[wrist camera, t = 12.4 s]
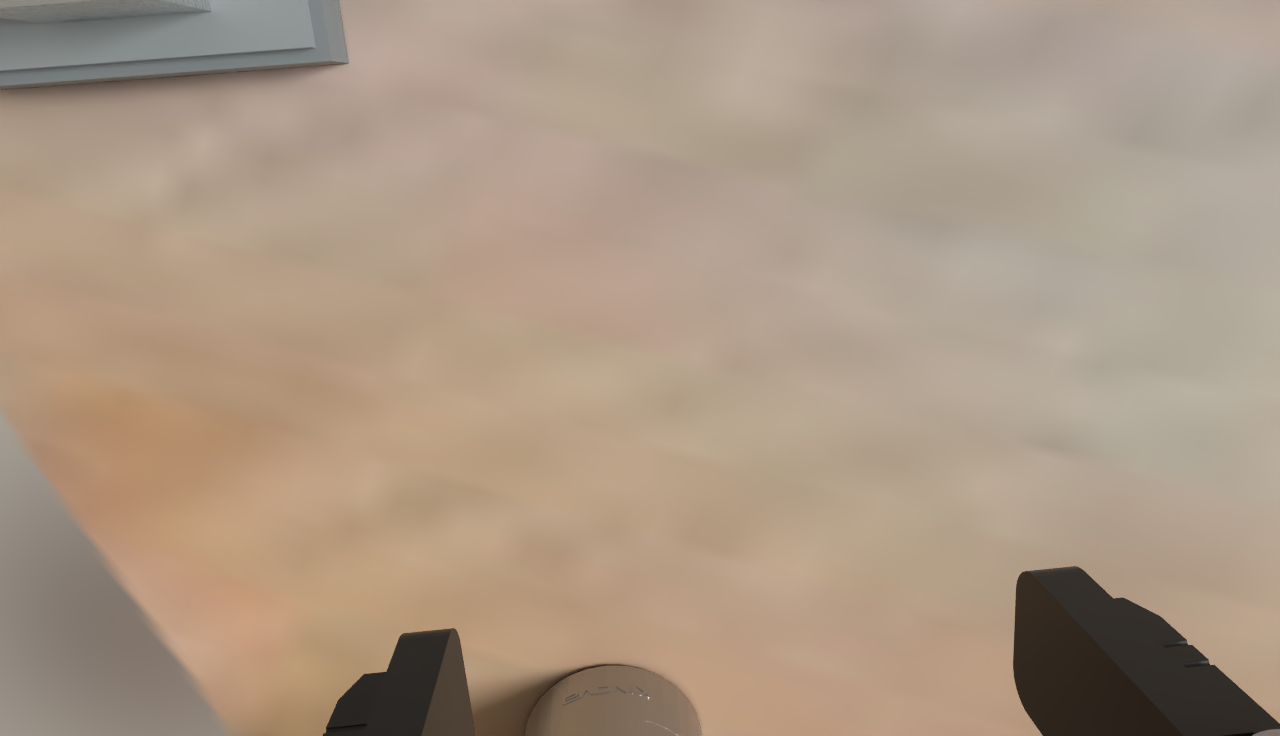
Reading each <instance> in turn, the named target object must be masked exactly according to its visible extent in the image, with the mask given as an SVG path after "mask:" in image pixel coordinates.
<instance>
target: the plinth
mask: <svg viewBox="0 0 1280 736" xmlns="http://www.w3.org/2000/svg"><path fill="white" fill-rule="evenodd" d="M210 4H211V9H212V11H209V12H196V13H184V14H171V15H158V16H145V17H132V18H119V19H106V20H93V21H80V22H67V23H55V24H43V23H36V22H28V21H20V20H13V19H5V18H0V89H14V88H28V87H41V86H54V85H67V84H81V83H94V82H107V81H120V80H133V79H147V78H160V77H173V76H186V75H200V74H213V73H226V72H239V71H252V70H266V69H279V68H292V67H305V66H319V65H332V64H345V63H349V62H348V55H347V49H346V43H345V37H344V31H343V24H342V18H341V12H340V6H339V0H210Z"/></svg>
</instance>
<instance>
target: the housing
mask: <svg viewBox="0 0 1280 736" xmlns="http://www.w3.org/2000/svg"><path fill="white" fill-rule="evenodd" d="M209 11H212V9H211V4H210V0H0V18H5V19H13V20H20V21H28V22H36V23H43V24H55V23H67V22H80V21H93V20H106V19H119V18H132V17H145V16H158V15H171V14H184V13H196V12H209Z"/></svg>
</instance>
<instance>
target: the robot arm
mask: <svg viewBox="0 0 1280 736" xmlns="http://www.w3.org/2000/svg"><path fill="white" fill-rule="evenodd" d="M1013 670H1014V678H1015V684H1016V688H1017V691H1018V695H1019V697H1020V700H1021V702H1022V705H1023V707H1024V709H1025V711H1026V712H1027V714H1028V715H1029V717H1030V718H1031V719H1032V721H1033V722H1034V724H1035V725H1036V726H1037V728H1038V729H1039V731H1040V732H1041V733H1042V735H1043V736H1280V724H1279V723H1278V722H1277V721H1276V720H1275V719H1274V718H1273V717H1271V716H1270V715H1269V714H1268V713H1267V712H1266V711H1265V710H1264V709H1263V708H1261V707H1260V706H1259V705H1258V704H1257V703H1256V702H1255V701H1254V700H1253V699H1251V698H1250V697H1249V696H1248V695H1247V694H1246V693H1245V692H1244V691H1243V690H1241V689H1240V688H1239V687H1238V686H1237V685H1236V684H1235V683H1234V682H1233V681H1231V680H1230V679H1229V678H1228V677H1227V676H1226V675H1225V674H1224V673H1223V672H1222V671H1220V670H1219V669H1218V668H1217V667H1216V666H1215V665H1210V664H1209V660H1208V659H1207V658H1206V657H1205V656H1204V655H1203V654H1202V653H1200V652H1199V651H1198V650H1197V649H1196V648H1195V647H1194V646H1193V645H1188V644H1187V640H1186V639H1185V638H1184V637H1183V636H1182V635H1180V634H1179V633H1178V632H1177V631H1176V630H1175V629H1174V628H1173V627H1172V626H1170V625H1169V624H1168V623H1167V622H1166V621H1165V620H1164V619H1163V618H1162V617H1160V616H1158V615H1156V614H1155V613H1153V612H1151V611H1149V610H1147V609H1145V608H1143V607H1141V606H1139V605H1137V604H1135V603H1133V602H1131V601H1129V600H1127V599H1125V598H1114V599H1113V598H1112V597H1111V596H1110V595H1109V594H1108V593H1107V592H1106V591H1105V590H1104V589H1103V588H1102V587H1100V586H1099V585H1098V584H1097V583H1096V582H1095V581H1094V580H1093V579H1092V578H1091V577H1090V576H1089V575H1088V574H1087V573H1086V572H1085V571H1083V570H1082V569H1081V568H1079V567H1075V566H1073V567H1063V568H1054V569H1044V570H1034V571H1025V572H1022V573H1021V574H1020V576H1019V578H1018V580H1017V586H1016V606H1015V632H1014V659H1013ZM323 736H475V733H474V722H473V715H472V709H471V703H470V697H469V691H468V685H467V679H466V673H465V667H464V661H463V655H462V649H461V644H460V639H459V635H458V633H457V631H456V629H454V628H452V629H443V630H433V631H423V632H413V633H403V634H402V635H401V636H400V638H399V640H398V643H397V645H396V648H395V651H394V653H393V656H392V659H391V661H390V664H389V667H388V669H387V672H381V673H371V674H364V675H363V676H362V677H361V678H360V679H359V680H358V681H357V682H356V683H355V684H354V685H353V686H352V687H351V688H350V689H349V690H348V691H347V692H346V693H345V694H344V695H343V696H342V697H341V698H340V699H339V700H338V702H337V704H336V707H335V709H334V711H333V714H332V716H331V718H330V720H329V723H328V725H327V727H326V733H324V734H323ZM525 736H702V733H701V727H700V723H699V720H698V717H697V714H696V711H695V709H694V708H693V706H692V704H691V703H690V701H689V699H688V698H687V697H686V696H685V695H684V694H683V693H682V692H681V691H680V690H679V689H678V688H677V687H676V686H675V685H674V684H672V683H671V682H669V681H668V680H666V679H665V678H663V677H662V676H660V675H657V674H654V673H652V672H649V671H647V670H644V669H640V668H635V667H629V666H601V667H595V668H590V669H586V670H583V671H580V672H578V673H575V674H572V675H570V676H568V677H566V678H565V679H563V680H561V681H560V682H558V683H557V684H555V685H553V686H552V687H551V688H550V689H549V690H548V691H547V692H546V693H545V694H544V695H543V696H542V697H541V698H540V700H539V701H538V702H537V704H536V705H535V707H534V708H533V710H532V712H531V714H530V717H529V720H528V722H527V725H526V730H525Z"/></svg>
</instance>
